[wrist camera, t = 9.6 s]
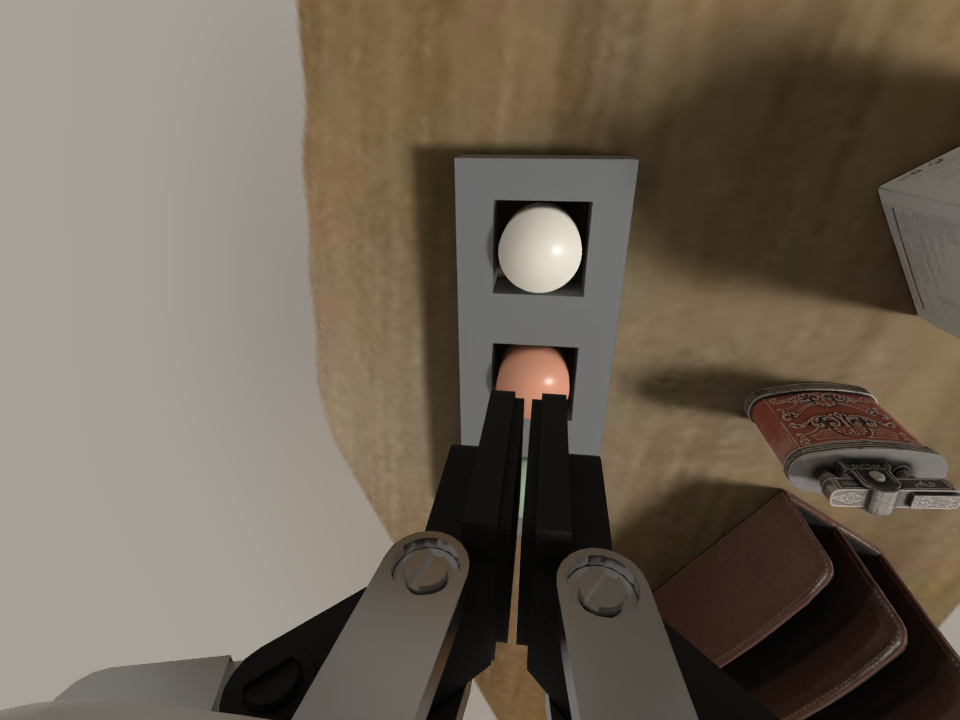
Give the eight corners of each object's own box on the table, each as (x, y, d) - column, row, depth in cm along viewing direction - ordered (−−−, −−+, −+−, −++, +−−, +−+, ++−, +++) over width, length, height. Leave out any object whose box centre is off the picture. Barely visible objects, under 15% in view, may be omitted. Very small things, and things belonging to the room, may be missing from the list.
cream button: (503, 200, 30) (498, 209, 28) (582, 202, 30) (585, 211, 27) (502, 276, 32) (497, 291, 30) (575, 279, 32) (578, 294, 29)
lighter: (740, 424, 36) (803, 527, 27) (747, 383, 34) (815, 478, 25) (863, 423, 34) (971, 530, 26) (876, 381, 33) (995, 479, 24)
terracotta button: (501, 335, 34) (496, 353, 32) (570, 338, 34) (572, 357, 31) (500, 394, 36) (496, 416, 34) (565, 398, 36) (566, 421, 33)
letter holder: (878, 545, 39) (1031, 747, 27) (701, 660, 48) (754, 853, 35) (782, 485, 38) (895, 668, 25) (618, 615, 47) (642, 798, 34)
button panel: (463, 154, 30) (454, 157, 27) (630, 155, 29) (639, 159, 26) (468, 503, 43) (463, 529, 40) (586, 514, 41) (588, 542, 39)
